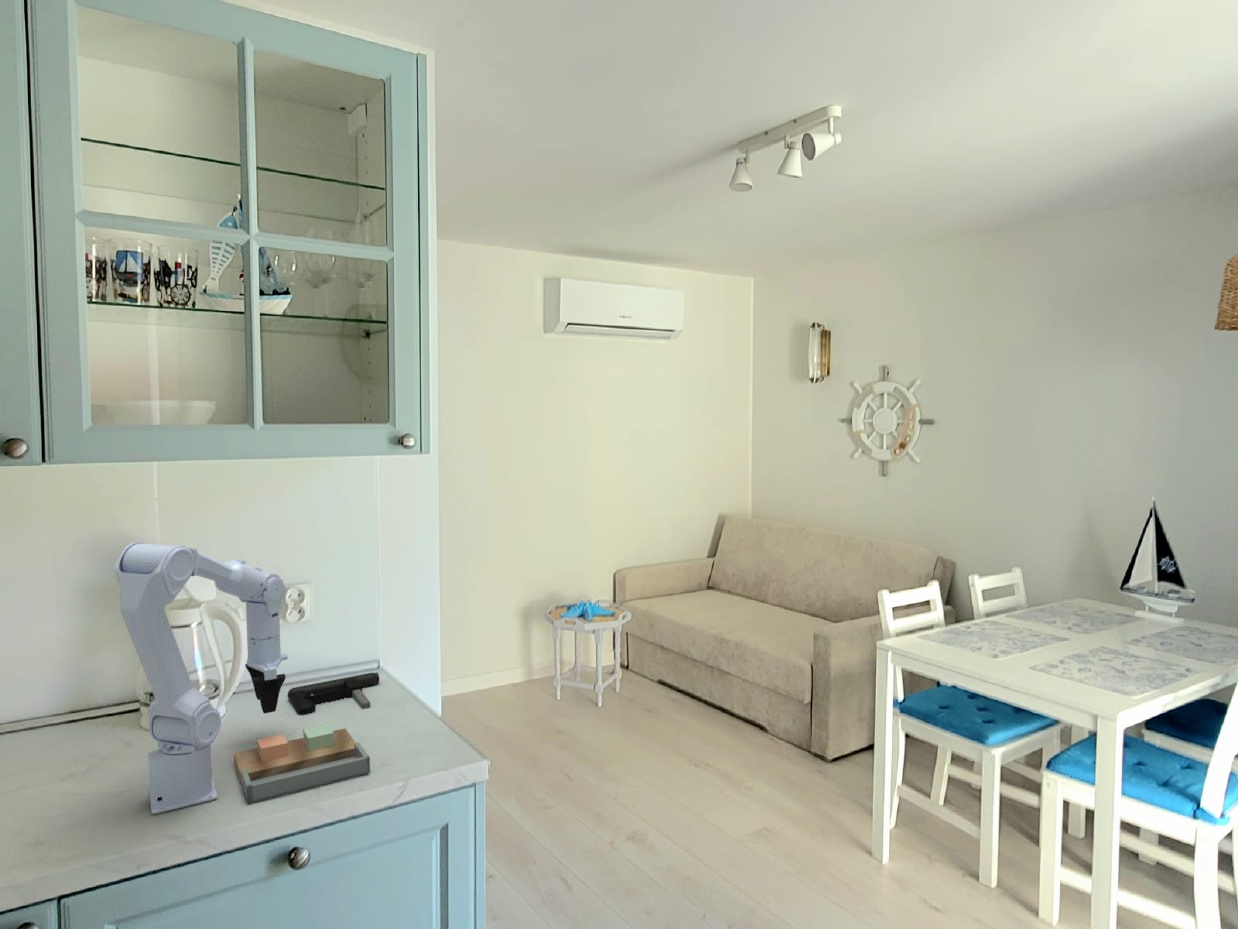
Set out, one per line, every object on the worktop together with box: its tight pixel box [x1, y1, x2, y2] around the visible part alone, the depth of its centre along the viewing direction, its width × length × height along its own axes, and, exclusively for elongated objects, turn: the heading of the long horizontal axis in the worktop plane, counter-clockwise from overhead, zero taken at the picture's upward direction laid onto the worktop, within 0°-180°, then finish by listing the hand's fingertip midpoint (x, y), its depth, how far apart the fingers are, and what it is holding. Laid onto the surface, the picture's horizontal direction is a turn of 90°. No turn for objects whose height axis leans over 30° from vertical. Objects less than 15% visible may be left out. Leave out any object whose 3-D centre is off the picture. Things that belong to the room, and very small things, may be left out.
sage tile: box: [302, 724, 334, 751], centre depth 148 cm, size 4×4×2 cm
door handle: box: [287, 672, 380, 716], centre depth 175 cm, size 3×20×16 cm
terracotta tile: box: [256, 733, 288, 762], centre depth 143 cm, size 4×4×2 cm
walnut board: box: [233, 727, 356, 784], centre depth 145 cm, size 20×10×2 cm, turn 123°
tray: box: [240, 742, 371, 805], centre depth 138 cm, size 20×7×3 cm, turn 123°
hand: (266, 705), depth 150 cm, fingers open, 7 cm apart
